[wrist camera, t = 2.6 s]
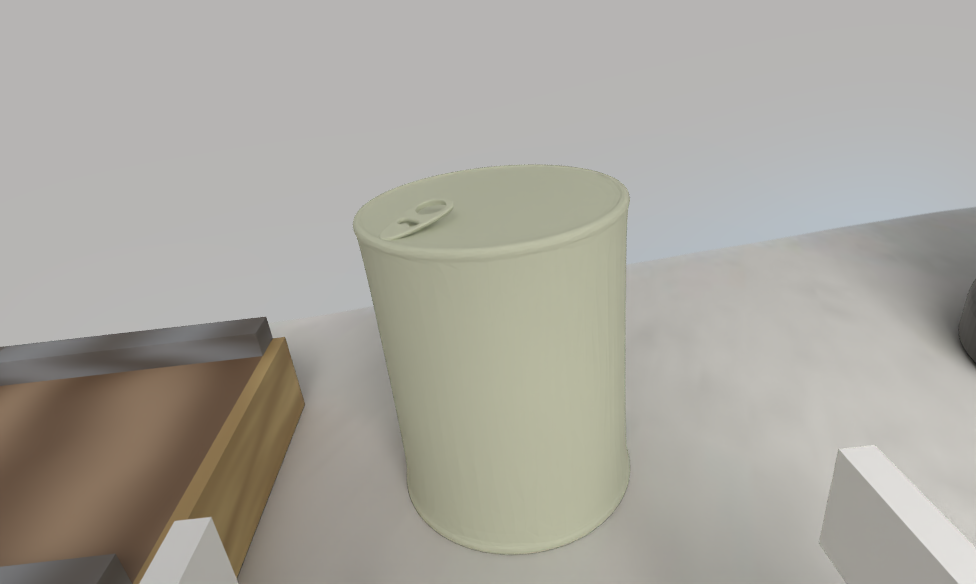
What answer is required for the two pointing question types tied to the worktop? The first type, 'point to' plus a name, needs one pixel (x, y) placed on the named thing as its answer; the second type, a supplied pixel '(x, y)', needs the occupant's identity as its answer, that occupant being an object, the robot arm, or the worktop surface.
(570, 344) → the can
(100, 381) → the brown wooden tray
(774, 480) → the worktop surface
